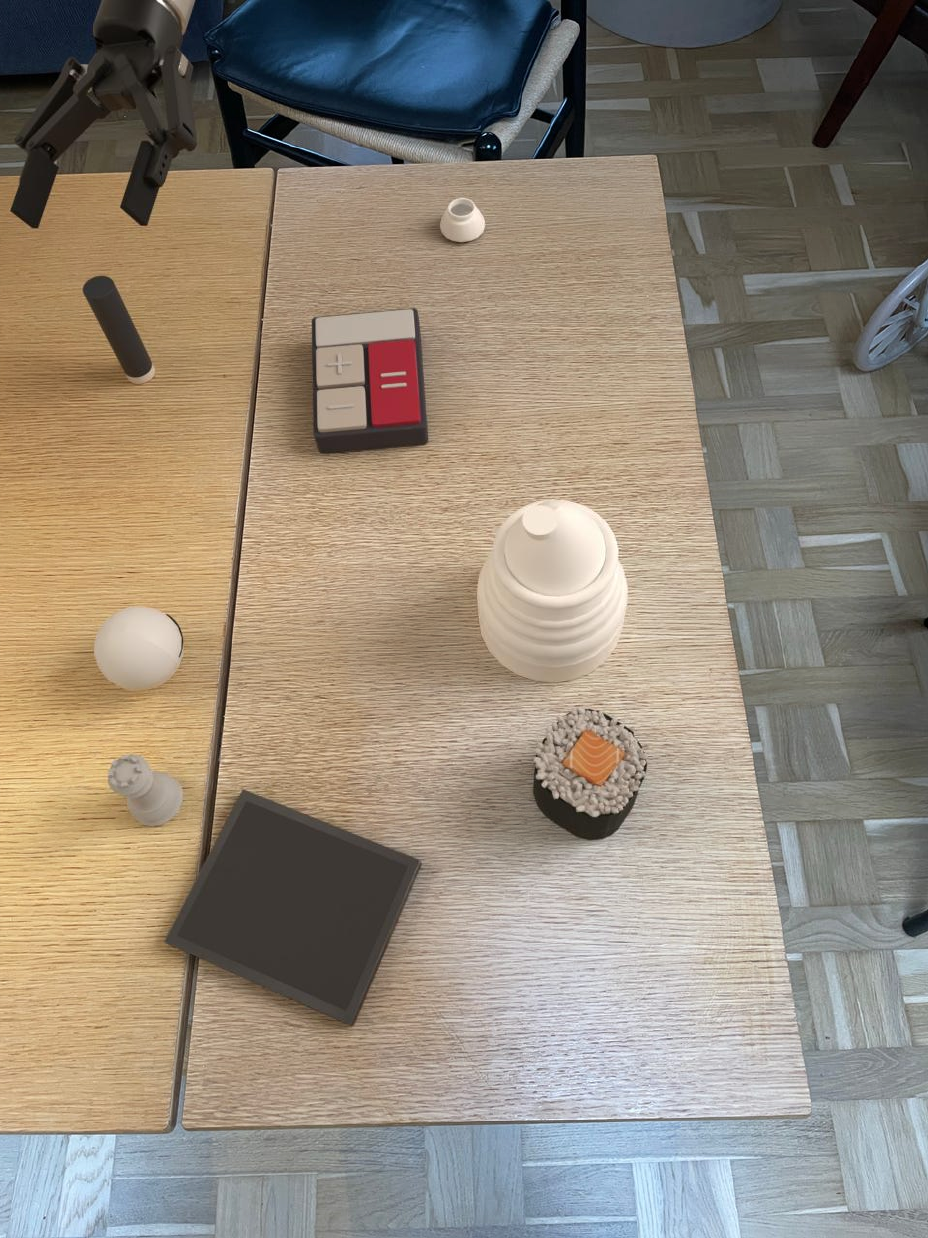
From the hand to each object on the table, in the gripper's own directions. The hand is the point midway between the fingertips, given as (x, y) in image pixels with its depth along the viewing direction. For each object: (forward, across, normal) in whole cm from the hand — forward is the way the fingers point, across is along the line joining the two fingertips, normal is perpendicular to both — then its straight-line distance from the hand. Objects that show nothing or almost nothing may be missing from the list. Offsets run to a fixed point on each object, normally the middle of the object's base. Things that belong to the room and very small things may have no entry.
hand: (77, 218), depth 89 cm
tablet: (+53, -33, -12) cm, 64 cm away
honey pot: (+25, -44, -24) cm, 56 cm away
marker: (+7, +4, -16) cm, 18 cm away
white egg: (+36, -13, -12) cm, 40 cm away
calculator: (+4, -20, -24) cm, 31 cm away
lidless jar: (-19, -21, -31) cm, 42 cm away
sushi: (+39, -51, -22) cm, 68 cm away
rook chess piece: (+48, -19, -10) cm, 53 cm away
